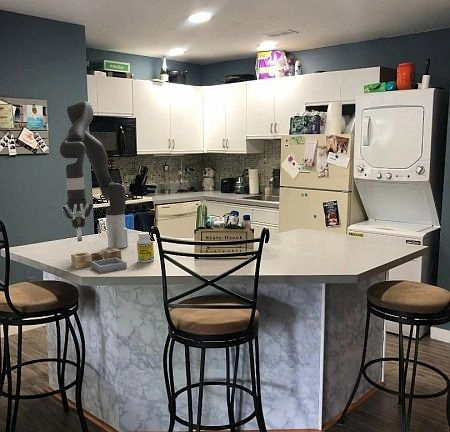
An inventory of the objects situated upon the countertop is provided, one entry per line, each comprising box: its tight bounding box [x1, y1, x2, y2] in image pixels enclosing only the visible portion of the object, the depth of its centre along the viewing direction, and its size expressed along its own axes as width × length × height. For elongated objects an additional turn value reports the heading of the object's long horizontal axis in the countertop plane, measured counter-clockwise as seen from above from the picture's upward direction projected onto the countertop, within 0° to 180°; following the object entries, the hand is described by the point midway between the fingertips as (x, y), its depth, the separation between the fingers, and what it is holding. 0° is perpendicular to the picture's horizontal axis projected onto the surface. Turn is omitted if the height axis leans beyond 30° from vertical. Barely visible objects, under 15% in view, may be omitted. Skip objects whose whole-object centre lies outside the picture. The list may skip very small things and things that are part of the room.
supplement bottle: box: [136, 231, 155, 263], centre depth 227 cm, size 7×7×13 cm
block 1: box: [70, 251, 92, 269], centre depth 223 cm, size 7×7×5 cm
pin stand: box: [90, 252, 104, 261], centre depth 231 cm, size 5×5×3 cm
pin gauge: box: [75, 215, 83, 242], centre depth 221 cm, size 3×3×11 cm
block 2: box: [103, 248, 122, 260], centre depth 229 cm, size 6×6×5 cm
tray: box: [90, 258, 128, 274], centre depth 217 cm, size 12×12×3 cm
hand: (78, 227), depth 220 cm, fingers closed on pin gauge, 2 cm apart
